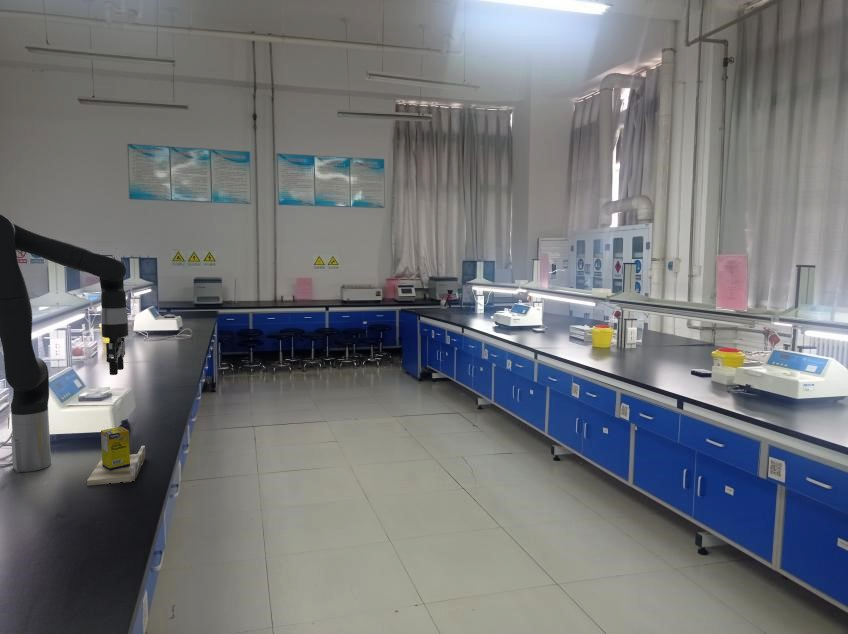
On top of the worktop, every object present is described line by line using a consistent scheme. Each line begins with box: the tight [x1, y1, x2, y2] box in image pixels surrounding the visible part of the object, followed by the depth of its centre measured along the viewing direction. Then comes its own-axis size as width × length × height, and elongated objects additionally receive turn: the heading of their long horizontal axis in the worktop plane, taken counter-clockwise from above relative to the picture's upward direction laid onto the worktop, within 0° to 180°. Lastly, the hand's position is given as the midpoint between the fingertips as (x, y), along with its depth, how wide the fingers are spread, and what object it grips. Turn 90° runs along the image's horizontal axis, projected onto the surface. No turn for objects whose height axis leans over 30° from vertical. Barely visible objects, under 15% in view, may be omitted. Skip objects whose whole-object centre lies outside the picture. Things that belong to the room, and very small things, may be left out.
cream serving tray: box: [86, 445, 146, 486], centre depth 177 cm, size 20×12×4 cm, turn 17°
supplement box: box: [100, 426, 131, 471], centre depth 176 cm, size 6×6×11 cm
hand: (116, 372), depth 191 cm, fingers open, 8 cm apart
